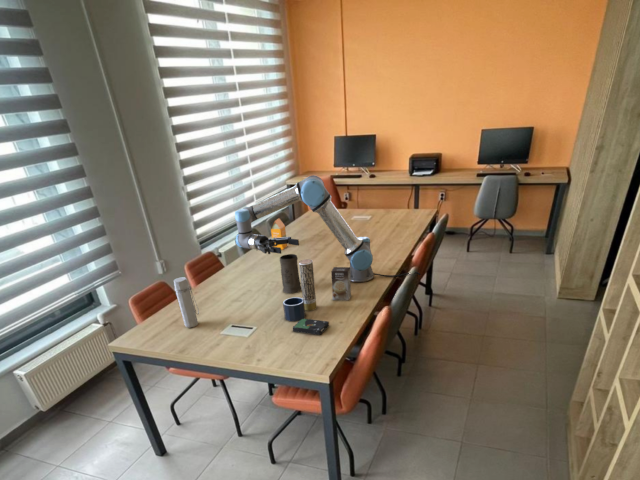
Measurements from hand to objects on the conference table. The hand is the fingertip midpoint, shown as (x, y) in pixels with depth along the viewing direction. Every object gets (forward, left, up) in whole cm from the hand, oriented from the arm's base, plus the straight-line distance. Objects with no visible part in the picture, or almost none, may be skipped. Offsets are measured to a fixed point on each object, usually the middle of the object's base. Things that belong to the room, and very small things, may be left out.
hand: (289, 246), depth 225 cm
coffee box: (-24, -8, -32) cm, 40 cm away
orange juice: (+35, -105, -32) cm, 116 cm away
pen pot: (-3, +15, -31) cm, 35 cm away
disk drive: (-14, +29, -32) cm, 45 cm away
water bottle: (+51, +23, -32) cm, 64 cm away
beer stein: (+7, -24, -32) cm, 41 cm away
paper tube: (-8, +5, -32) cm, 33 cm away
